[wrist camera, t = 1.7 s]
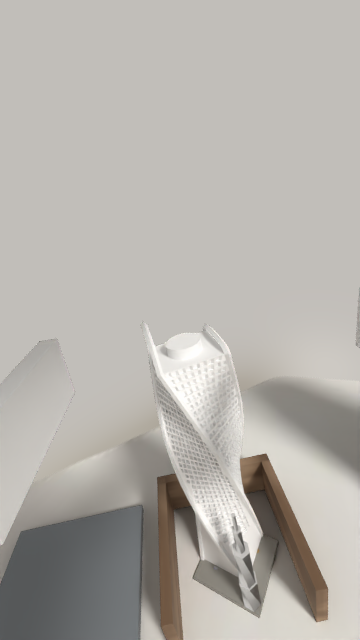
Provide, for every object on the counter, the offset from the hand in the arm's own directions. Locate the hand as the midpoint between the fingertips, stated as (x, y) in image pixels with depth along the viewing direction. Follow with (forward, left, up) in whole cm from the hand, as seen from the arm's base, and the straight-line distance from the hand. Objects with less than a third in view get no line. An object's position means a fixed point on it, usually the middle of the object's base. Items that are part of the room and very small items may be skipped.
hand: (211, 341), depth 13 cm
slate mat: (+19, -9, -30) cm, 37 cm away
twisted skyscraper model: (+1, -8, -31) cm, 32 cm away
